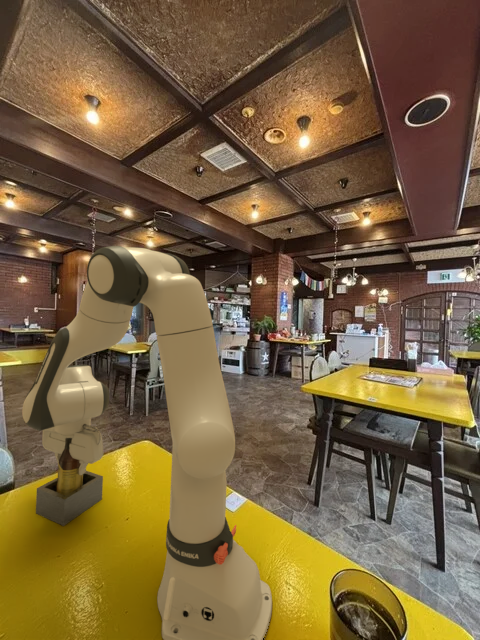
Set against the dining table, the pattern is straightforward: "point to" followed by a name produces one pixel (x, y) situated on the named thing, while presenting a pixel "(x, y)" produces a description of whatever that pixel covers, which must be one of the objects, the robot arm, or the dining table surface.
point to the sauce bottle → (68, 472)
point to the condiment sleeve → (68, 499)
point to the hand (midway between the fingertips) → (71, 470)
